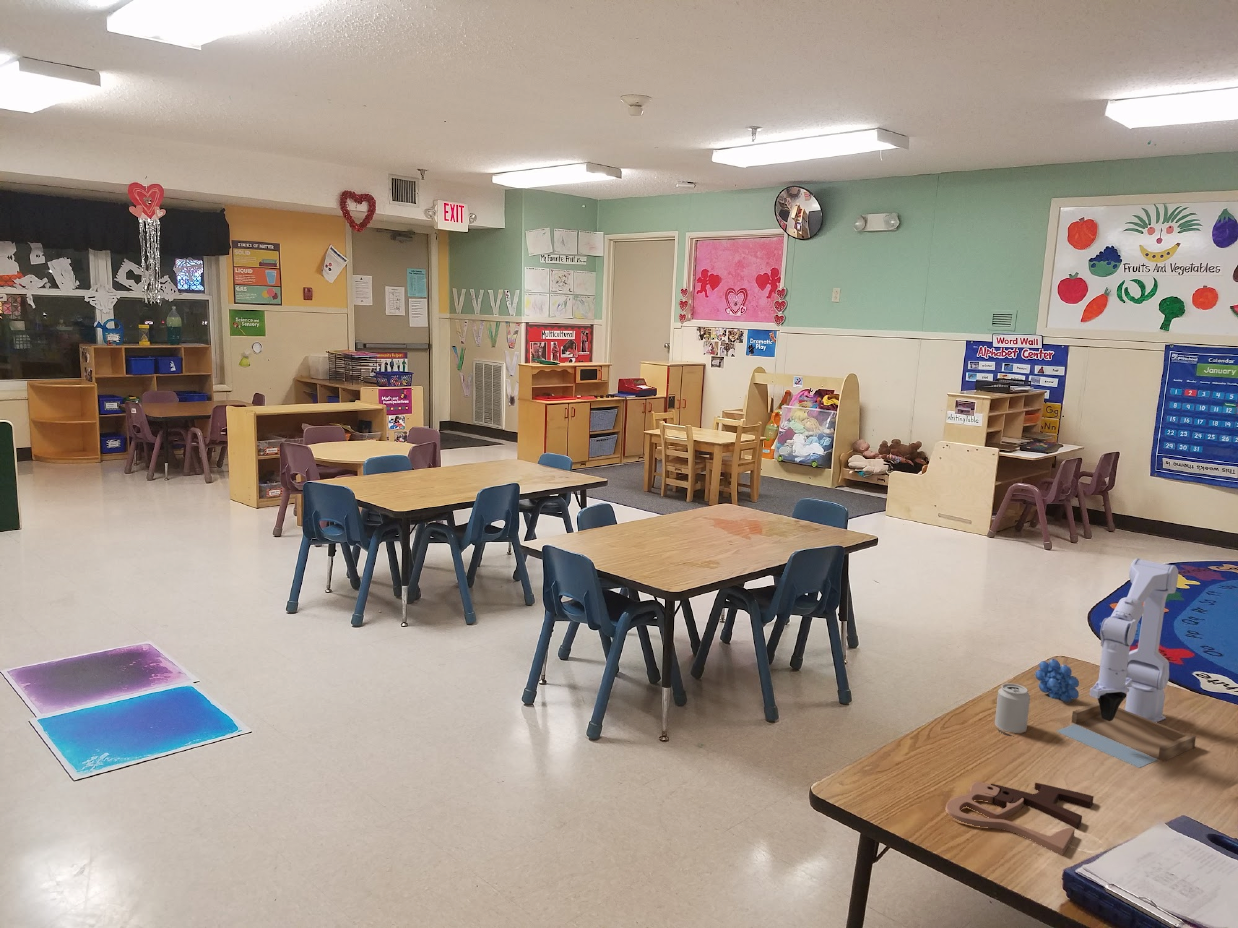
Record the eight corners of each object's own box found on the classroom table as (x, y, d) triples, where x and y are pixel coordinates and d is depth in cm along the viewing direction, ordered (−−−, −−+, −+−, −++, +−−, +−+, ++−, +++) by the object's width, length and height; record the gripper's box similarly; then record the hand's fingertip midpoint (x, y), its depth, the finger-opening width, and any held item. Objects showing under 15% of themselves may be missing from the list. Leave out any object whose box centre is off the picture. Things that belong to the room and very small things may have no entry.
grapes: (1027, 699, 250) (1031, 658, 248) (1035, 692, 255) (1040, 652, 252) (1072, 713, 242) (1076, 671, 240) (1080, 705, 247) (1084, 664, 245)
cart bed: (1102, 715, 241) (1104, 699, 240) (1193, 752, 221) (1196, 735, 220) (1070, 727, 233) (1072, 711, 233) (1162, 766, 214) (1164, 749, 213)
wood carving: (1093, 804, 198) (983, 768, 213) (1094, 796, 197) (983, 760, 212) (1059, 863, 177) (939, 818, 191) (1060, 853, 176) (940, 809, 191)
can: (1020, 725, 234) (1024, 682, 232) (1030, 739, 227) (1035, 694, 224) (990, 723, 235) (994, 680, 233) (999, 737, 227) (1004, 692, 225)
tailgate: (1074, 723, 232) (1056, 730, 228) (1157, 759, 214) (1139, 767, 210) (1074, 726, 232) (1055, 733, 228) (1157, 762, 215) (1138, 770, 210)
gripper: (1112, 678, 210) (1106, 732, 213) (1147, 666, 218) (1140, 719, 220) (1083, 667, 216) (1077, 720, 219) (1118, 656, 224) (1112, 707, 226)
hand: (1107, 719), depth 220 cm, fingers closed
